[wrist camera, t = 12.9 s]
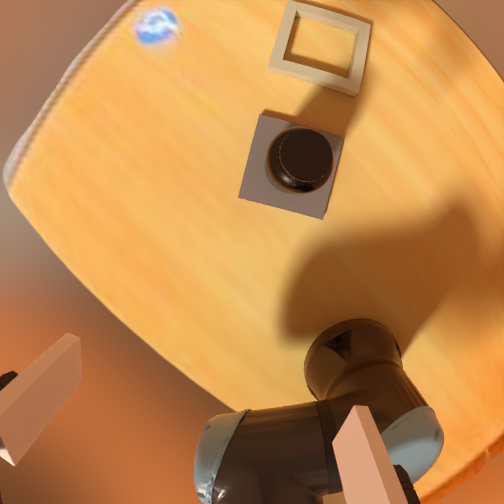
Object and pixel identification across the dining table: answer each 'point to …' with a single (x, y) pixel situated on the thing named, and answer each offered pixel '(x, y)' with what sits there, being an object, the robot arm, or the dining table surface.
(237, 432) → the robot arm
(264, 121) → the slate coaster
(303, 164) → the supplement bottle
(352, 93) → the frame
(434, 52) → the dining table surface
